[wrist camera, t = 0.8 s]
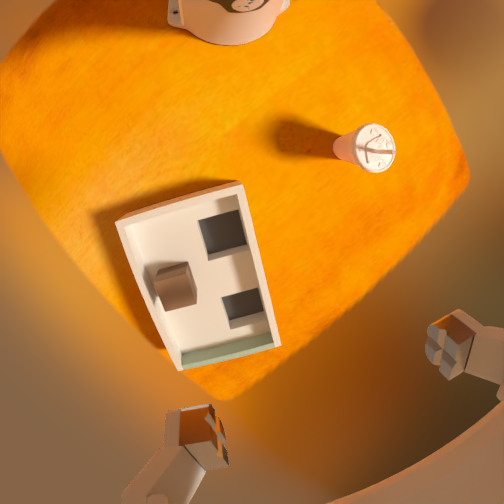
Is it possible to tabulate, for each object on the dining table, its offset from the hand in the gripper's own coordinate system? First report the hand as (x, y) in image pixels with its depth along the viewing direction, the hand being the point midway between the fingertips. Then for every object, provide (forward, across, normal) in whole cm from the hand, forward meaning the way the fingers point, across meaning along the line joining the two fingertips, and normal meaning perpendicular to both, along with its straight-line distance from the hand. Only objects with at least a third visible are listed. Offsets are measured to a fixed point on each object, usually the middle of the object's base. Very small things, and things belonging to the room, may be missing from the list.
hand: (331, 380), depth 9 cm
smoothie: (+35, -18, -5) cm, 40 cm away
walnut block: (+32, +11, +7) cm, 34 cm away
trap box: (+35, +7, +9) cm, 37 cm away
